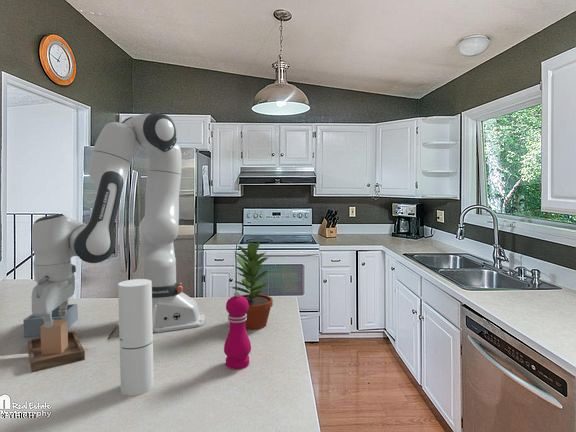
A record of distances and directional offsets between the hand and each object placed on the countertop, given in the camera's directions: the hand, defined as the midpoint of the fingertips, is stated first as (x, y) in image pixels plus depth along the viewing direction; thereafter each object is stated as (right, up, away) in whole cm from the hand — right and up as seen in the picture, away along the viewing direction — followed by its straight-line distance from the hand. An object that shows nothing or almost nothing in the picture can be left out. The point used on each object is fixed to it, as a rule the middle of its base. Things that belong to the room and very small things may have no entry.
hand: (56, 320), depth 104 cm
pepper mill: (+52, -10, -6) cm, 53 cm away
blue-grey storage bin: (-12, -8, +18) cm, 23 cm away
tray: (0, -9, 0) cm, 9 cm away
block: (0, -8, 0) cm, 8 cm away
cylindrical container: (+30, -11, -18) cm, 37 cm away
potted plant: (+53, -8, +24) cm, 59 cm away
